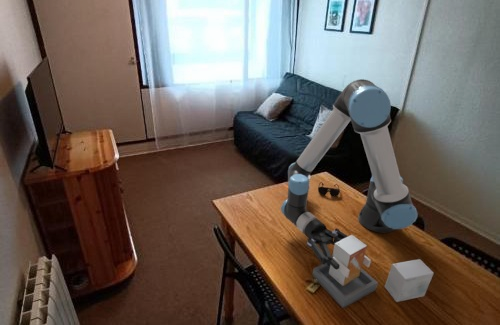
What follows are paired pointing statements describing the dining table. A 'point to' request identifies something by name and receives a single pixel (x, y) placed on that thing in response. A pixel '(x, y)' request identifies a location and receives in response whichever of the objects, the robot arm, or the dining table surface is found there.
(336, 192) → the sunglasses
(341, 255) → the small box
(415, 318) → the dining table surface
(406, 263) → the skincare box
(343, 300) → the tray
